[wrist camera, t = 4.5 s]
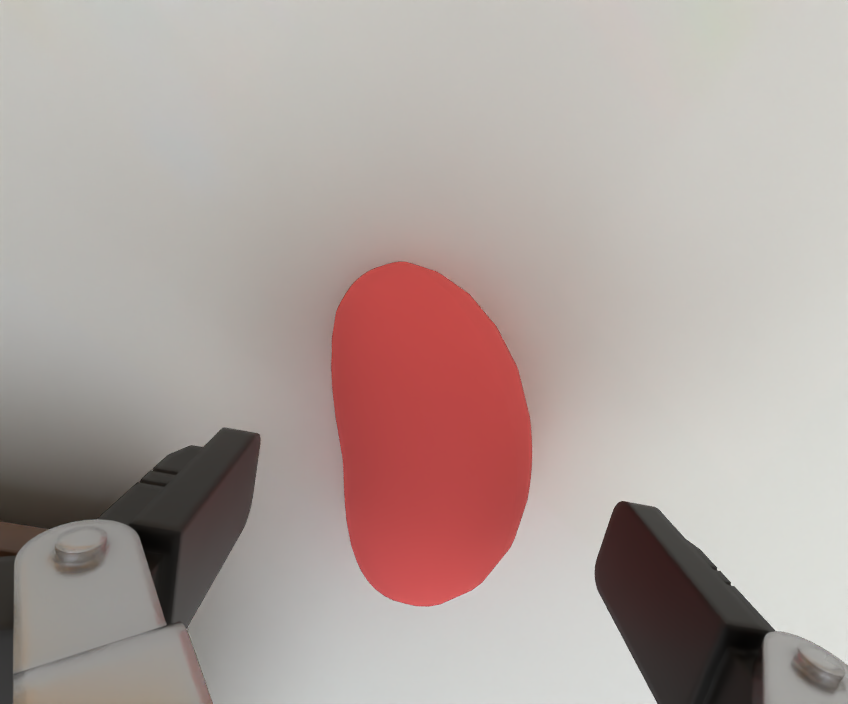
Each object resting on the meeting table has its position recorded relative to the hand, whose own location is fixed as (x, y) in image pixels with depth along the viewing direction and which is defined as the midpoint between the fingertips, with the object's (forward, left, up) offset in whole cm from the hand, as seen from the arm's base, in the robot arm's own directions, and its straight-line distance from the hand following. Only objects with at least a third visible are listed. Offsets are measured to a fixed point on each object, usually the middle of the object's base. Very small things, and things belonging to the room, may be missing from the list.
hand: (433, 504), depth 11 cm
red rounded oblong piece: (0, 0, -5) cm, 5 cm away
